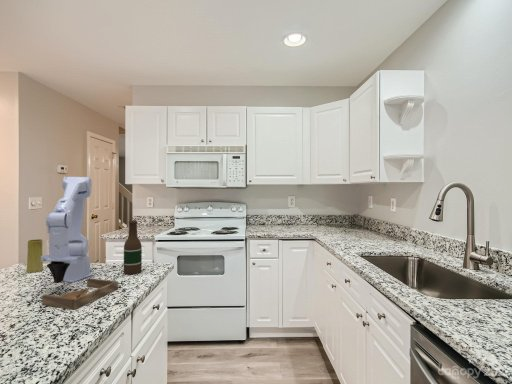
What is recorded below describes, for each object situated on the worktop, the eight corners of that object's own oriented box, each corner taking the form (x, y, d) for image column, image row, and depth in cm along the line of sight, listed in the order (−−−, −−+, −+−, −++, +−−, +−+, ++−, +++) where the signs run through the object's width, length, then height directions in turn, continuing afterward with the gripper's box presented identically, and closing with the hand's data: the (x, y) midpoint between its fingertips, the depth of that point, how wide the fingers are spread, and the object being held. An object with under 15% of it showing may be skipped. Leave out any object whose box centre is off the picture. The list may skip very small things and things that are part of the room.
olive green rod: (35, 268, 125) (35, 238, 125) (46, 269, 124) (47, 239, 124) (22, 272, 119) (22, 241, 119) (34, 273, 118) (34, 241, 118)
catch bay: (89, 285, 103) (89, 278, 103) (117, 289, 100) (118, 281, 100) (42, 304, 86) (42, 295, 86) (75, 309, 83) (75, 300, 83)
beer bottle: (136, 269, 126) (136, 219, 126) (145, 272, 122) (145, 220, 122) (119, 273, 120) (120, 220, 120) (128, 276, 115) (129, 222, 115)
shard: (89, 291, 99) (89, 286, 99) (98, 296, 94) (98, 291, 94) (54, 301, 90) (54, 295, 90) (62, 307, 86) (62, 301, 86)
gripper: (32, 245, 93) (32, 283, 94) (64, 248, 90) (64, 287, 90) (51, 242, 100) (51, 277, 100) (82, 244, 97) (82, 280, 97)
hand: (58, 281), depth 96 cm, fingers closed
